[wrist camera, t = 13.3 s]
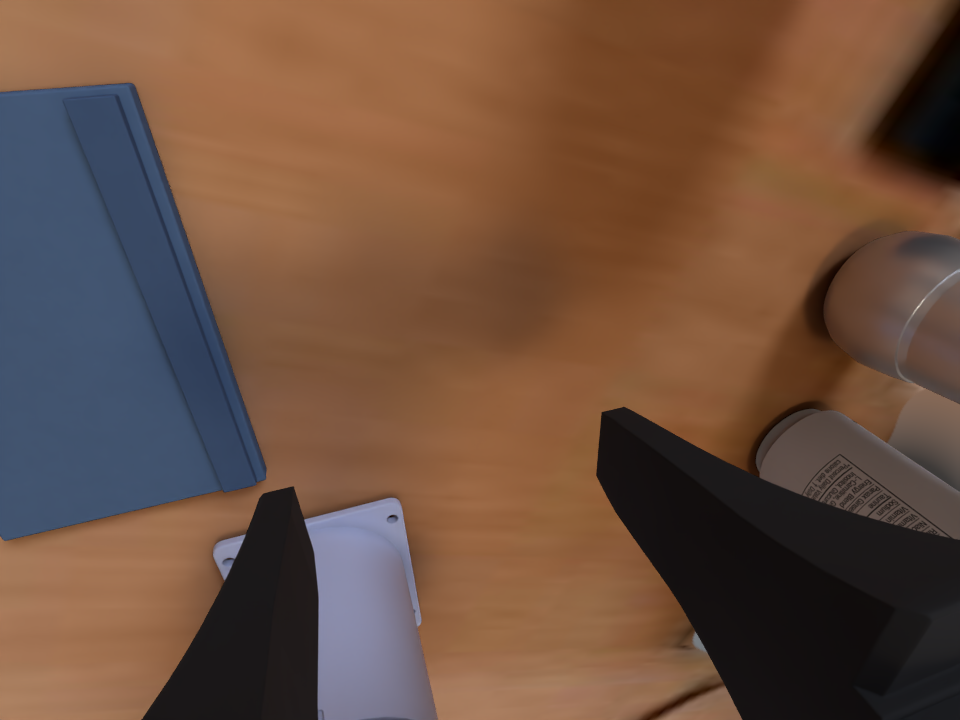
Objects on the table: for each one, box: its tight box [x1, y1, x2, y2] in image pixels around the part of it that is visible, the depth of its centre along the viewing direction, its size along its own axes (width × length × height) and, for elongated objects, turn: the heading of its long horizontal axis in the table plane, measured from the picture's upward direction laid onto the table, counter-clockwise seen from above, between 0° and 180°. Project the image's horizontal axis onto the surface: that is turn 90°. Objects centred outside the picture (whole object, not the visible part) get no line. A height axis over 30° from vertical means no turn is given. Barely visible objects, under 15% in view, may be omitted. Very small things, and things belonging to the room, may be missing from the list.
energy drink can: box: [756, 409, 960, 540], centre depth 26 cm, size 6×6×15 cm
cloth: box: [0, 83, 266, 541], centre depth 17 cm, size 14×9×1 cm, turn 3°
